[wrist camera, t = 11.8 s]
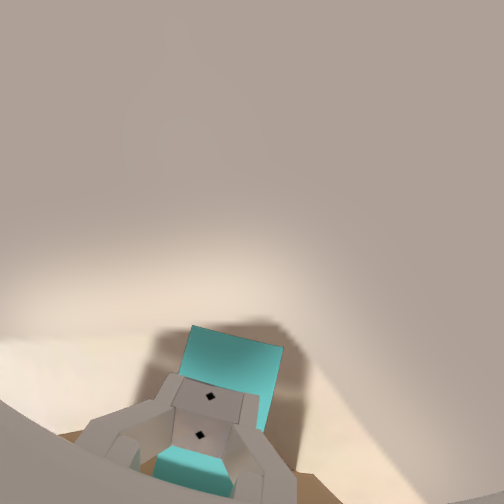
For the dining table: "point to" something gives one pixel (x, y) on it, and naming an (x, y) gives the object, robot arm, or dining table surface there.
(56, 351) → the dining table surface
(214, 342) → the hinged cardboard lid
